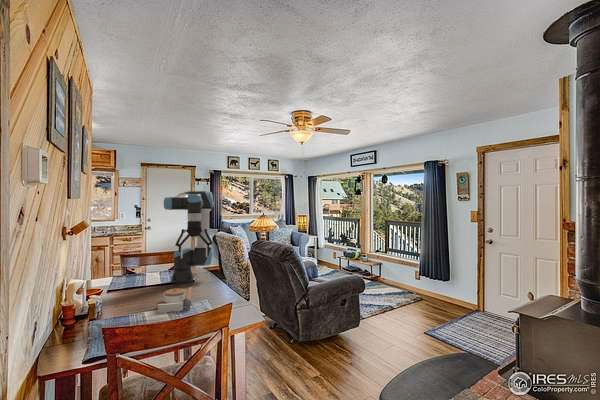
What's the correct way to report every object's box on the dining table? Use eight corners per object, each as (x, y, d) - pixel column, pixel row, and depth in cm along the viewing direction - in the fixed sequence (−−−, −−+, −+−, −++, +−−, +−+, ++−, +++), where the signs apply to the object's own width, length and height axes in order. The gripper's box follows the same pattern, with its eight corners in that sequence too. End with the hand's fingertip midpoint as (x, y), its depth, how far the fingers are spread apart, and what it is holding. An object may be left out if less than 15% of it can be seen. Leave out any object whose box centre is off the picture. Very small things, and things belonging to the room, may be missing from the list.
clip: (188, 292, 182) (188, 287, 182) (193, 291, 183) (193, 286, 183) (184, 306, 158) (185, 300, 158) (191, 305, 159) (191, 299, 159)
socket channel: (163, 301, 173) (163, 294, 173) (192, 298, 178) (192, 291, 178) (157, 313, 154) (157, 305, 154) (190, 310, 159) (190, 302, 159)
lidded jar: (162, 309, 160) (162, 291, 160) (165, 302, 170) (165, 286, 170) (184, 307, 163) (184, 290, 163) (186, 301, 173) (186, 284, 173)
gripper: (170, 221, 167) (170, 259, 168) (217, 220, 175) (216, 257, 175) (171, 220, 175) (171, 257, 175) (216, 219, 182) (216, 254, 183)
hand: (194, 257), depth 175 cm, fingers open, 13 cm apart
